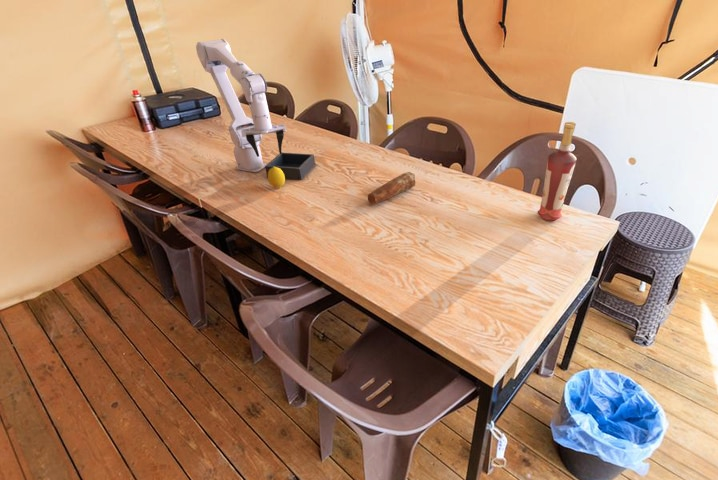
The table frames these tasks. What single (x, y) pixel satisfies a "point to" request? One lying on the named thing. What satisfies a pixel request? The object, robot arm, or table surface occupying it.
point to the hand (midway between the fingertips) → (269, 154)
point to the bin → (292, 165)
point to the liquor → (558, 177)
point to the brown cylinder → (392, 188)
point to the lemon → (276, 177)
